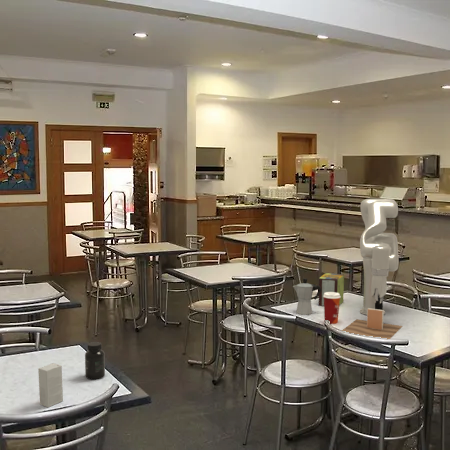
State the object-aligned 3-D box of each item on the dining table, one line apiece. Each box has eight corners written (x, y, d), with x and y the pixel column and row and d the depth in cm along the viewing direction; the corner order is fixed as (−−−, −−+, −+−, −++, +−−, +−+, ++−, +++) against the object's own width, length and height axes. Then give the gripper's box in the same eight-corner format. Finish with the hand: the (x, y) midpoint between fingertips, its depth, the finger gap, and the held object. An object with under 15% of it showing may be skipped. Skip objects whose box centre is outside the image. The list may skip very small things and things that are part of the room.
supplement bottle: (82, 375, 203) (81, 343, 201) (100, 371, 207) (99, 339, 205) (89, 381, 197) (89, 348, 196) (108, 377, 201) (107, 344, 200)
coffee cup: (339, 327, 264) (340, 296, 263) (322, 326, 266) (322, 295, 264) (339, 322, 273) (340, 292, 271) (322, 321, 274) (323, 291, 273)
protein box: (343, 301, 314) (344, 274, 312) (337, 308, 300) (338, 279, 298) (325, 299, 318) (325, 272, 316) (317, 306, 304) (318, 277, 302)
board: (356, 321, 274) (356, 319, 274) (402, 328, 263) (402, 326, 263) (340, 334, 254) (340, 331, 254) (389, 342, 242) (389, 339, 242)
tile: (367, 327, 261) (368, 308, 260) (382, 329, 257) (383, 310, 256) (366, 327, 260) (367, 308, 259) (381, 330, 256) (382, 310, 255)
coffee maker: (291, 314, 286) (292, 279, 284) (291, 310, 295) (292, 276, 293) (321, 315, 284) (322, 280, 282) (320, 311, 293) (321, 277, 291)
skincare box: (54, 398, 183) (53, 362, 182) (63, 401, 181) (62, 365, 179) (38, 404, 178) (37, 368, 177) (47, 408, 176) (46, 371, 174)
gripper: (376, 269, 269) (375, 306, 270) (367, 274, 256) (366, 313, 258) (392, 270, 265) (390, 308, 267) (383, 275, 252) (382, 315, 254)
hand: (378, 311), depth 262 cm, fingers closed
